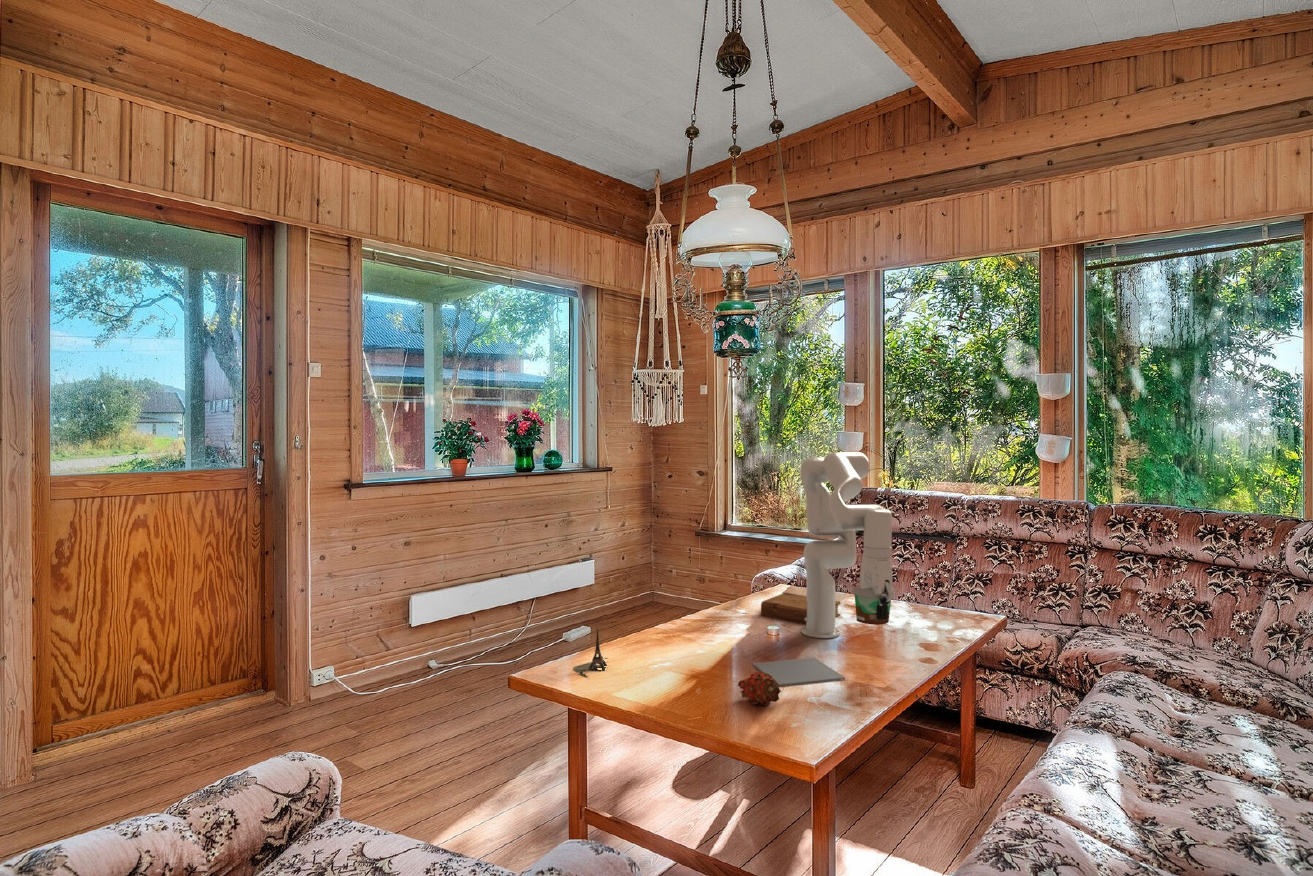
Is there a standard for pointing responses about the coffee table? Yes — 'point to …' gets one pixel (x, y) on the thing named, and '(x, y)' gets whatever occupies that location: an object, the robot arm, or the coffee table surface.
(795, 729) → the coffee table surface
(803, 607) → the brown flat wooden box
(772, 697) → the dragon fruit
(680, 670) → the coffee table surface
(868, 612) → the food container
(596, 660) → the eiffel tower figurine
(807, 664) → the mat
